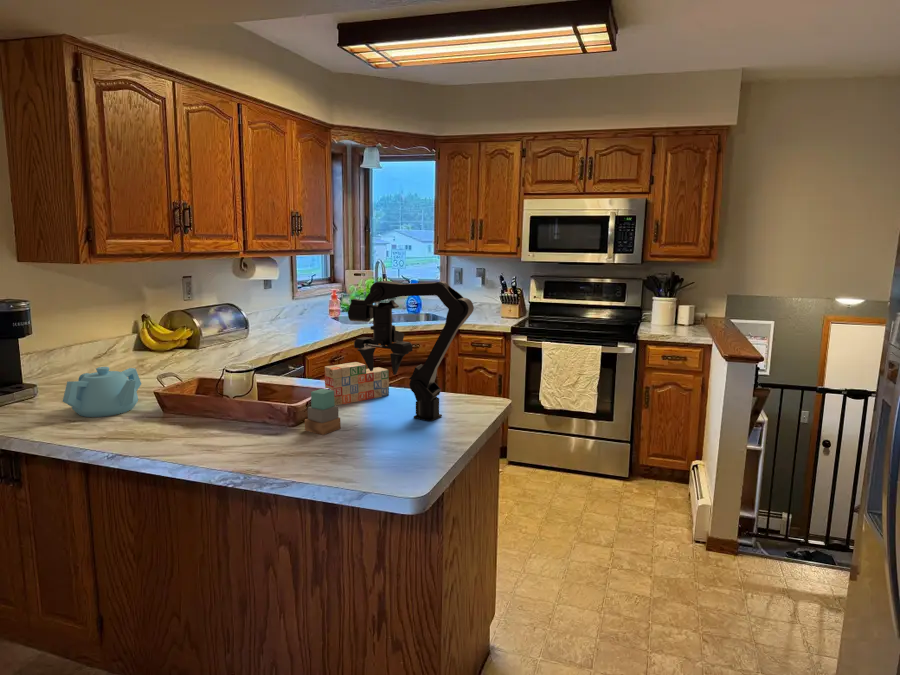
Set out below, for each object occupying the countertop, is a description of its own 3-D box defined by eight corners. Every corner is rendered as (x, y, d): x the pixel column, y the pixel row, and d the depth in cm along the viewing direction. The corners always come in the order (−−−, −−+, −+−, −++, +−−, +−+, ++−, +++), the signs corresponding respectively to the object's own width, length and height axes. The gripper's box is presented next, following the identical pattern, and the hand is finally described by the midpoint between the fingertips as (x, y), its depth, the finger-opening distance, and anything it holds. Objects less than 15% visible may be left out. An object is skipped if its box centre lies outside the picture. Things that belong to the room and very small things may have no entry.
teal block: (334, 406, 165) (334, 390, 165) (323, 409, 161) (323, 394, 161) (322, 403, 168) (322, 388, 167) (311, 407, 164) (310, 391, 163)
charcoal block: (338, 418, 166) (338, 406, 165) (322, 423, 161) (321, 410, 160) (324, 414, 169) (323, 402, 169) (307, 419, 164) (307, 407, 164)
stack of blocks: (379, 392, 208) (379, 358, 206) (389, 395, 203) (389, 361, 201) (325, 401, 195) (324, 365, 193) (333, 406, 190) (333, 369, 188)
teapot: (63, 421, 171) (59, 375, 169) (79, 404, 188) (75, 362, 186) (137, 415, 177) (134, 371, 175) (145, 400, 195) (142, 359, 193)
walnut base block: (340, 429, 167) (340, 417, 166) (323, 436, 161) (322, 423, 160) (322, 425, 170) (322, 413, 170) (304, 431, 165) (304, 419, 164)
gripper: (422, 322, 179) (422, 371, 182) (375, 317, 189) (376, 364, 192) (401, 326, 170) (401, 378, 172) (352, 321, 180) (353, 370, 182)
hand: (383, 372), depth 180 cm, fingers open, 9 cm apart
